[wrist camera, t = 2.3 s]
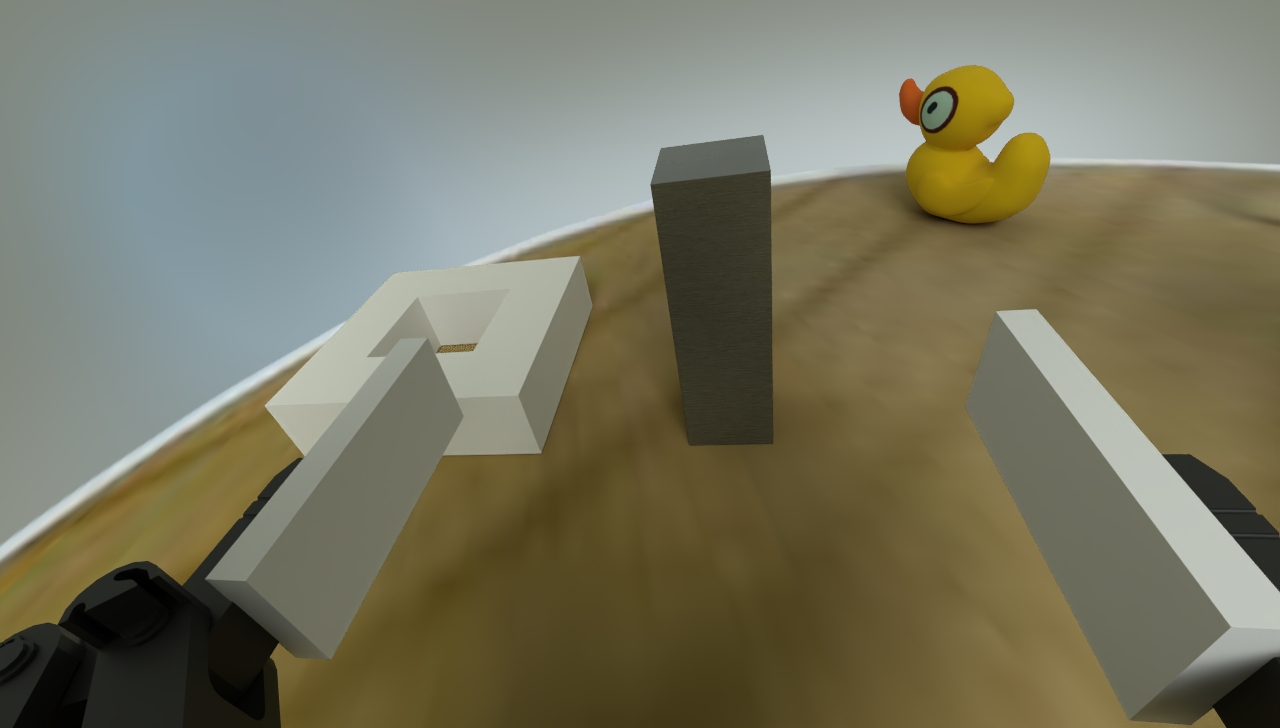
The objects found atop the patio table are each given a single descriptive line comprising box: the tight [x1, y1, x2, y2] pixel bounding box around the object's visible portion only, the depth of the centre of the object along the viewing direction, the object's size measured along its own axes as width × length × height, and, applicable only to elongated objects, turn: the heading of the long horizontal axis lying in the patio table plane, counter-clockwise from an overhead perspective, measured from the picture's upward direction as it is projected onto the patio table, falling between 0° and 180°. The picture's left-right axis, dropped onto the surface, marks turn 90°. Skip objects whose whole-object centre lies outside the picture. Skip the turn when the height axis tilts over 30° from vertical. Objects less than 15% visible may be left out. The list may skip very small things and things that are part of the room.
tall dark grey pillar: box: [651, 135, 773, 445], centre depth 23 cm, size 4×4×13 cm
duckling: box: [899, 65, 1050, 223], centre depth 37 cm, size 11×5×10 cm, turn 27°
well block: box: [265, 256, 593, 456], centre depth 33 cm, size 14×14×4 cm
